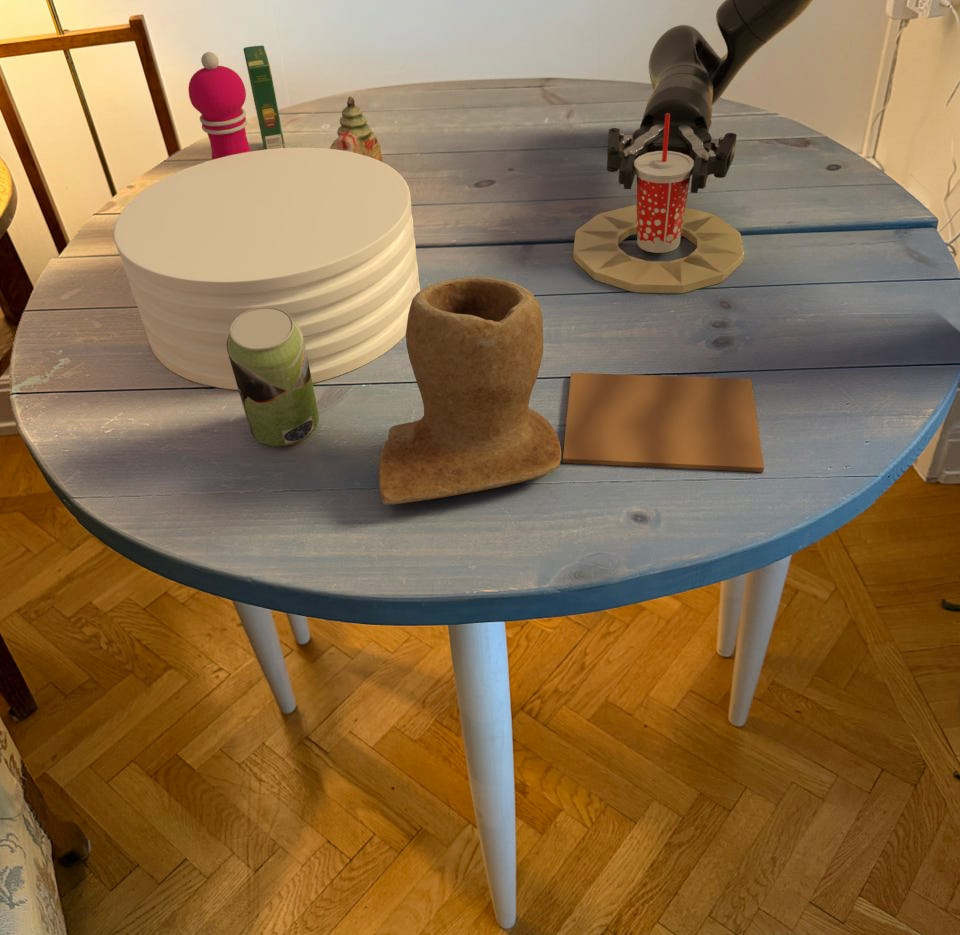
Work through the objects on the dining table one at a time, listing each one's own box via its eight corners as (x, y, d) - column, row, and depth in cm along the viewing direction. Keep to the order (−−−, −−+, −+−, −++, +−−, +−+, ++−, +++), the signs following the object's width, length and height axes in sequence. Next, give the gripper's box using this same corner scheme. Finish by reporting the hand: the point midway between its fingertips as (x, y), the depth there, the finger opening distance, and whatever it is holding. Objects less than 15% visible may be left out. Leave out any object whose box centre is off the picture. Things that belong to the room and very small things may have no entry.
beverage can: (307, 401, 84) (281, 285, 76) (336, 445, 79) (313, 326, 71) (240, 424, 82) (207, 307, 74) (266, 471, 77) (234, 352, 69)
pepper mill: (207, 227, 111) (160, 54, 98) (258, 207, 115) (220, 37, 102) (237, 247, 107) (193, 69, 94) (290, 226, 111) (255, 50, 97)
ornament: (371, 191, 117) (360, 111, 110) (324, 190, 118) (311, 110, 111) (387, 164, 122) (378, 87, 116) (342, 163, 123) (331, 87, 117)
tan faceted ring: (735, 213, 107) (736, 205, 107) (748, 295, 94) (749, 286, 93) (578, 211, 110) (578, 203, 109) (569, 291, 96) (569, 282, 96)
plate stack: (98, 380, 88) (56, 273, 81) (212, 239, 109) (187, 144, 101) (382, 400, 84) (365, 289, 76) (445, 249, 104) (437, 150, 97)
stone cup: (537, 401, 83) (534, 249, 73) (574, 489, 74) (577, 329, 64) (367, 430, 81) (342, 277, 71) (385, 523, 72) (358, 364, 62)
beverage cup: (680, 227, 103) (691, 100, 94) (692, 253, 99) (706, 123, 89) (625, 231, 103) (631, 105, 94) (635, 258, 99) (643, 128, 89)
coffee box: (289, 164, 124) (270, 62, 116) (268, 167, 124) (246, 66, 115) (283, 142, 130) (264, 43, 121) (263, 145, 130) (242, 46, 121)
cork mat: (750, 383, 83) (751, 378, 83) (763, 472, 74) (764, 467, 74) (570, 376, 85) (571, 372, 85) (562, 463, 76) (562, 458, 76)
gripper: (615, 83, 105) (591, 143, 93) (746, 87, 102) (738, 149, 90) (612, 147, 110) (589, 212, 98) (737, 153, 107) (729, 221, 95)
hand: (661, 182), depth 94 cm, fingers closed on beverage cup, 6 cm apart
